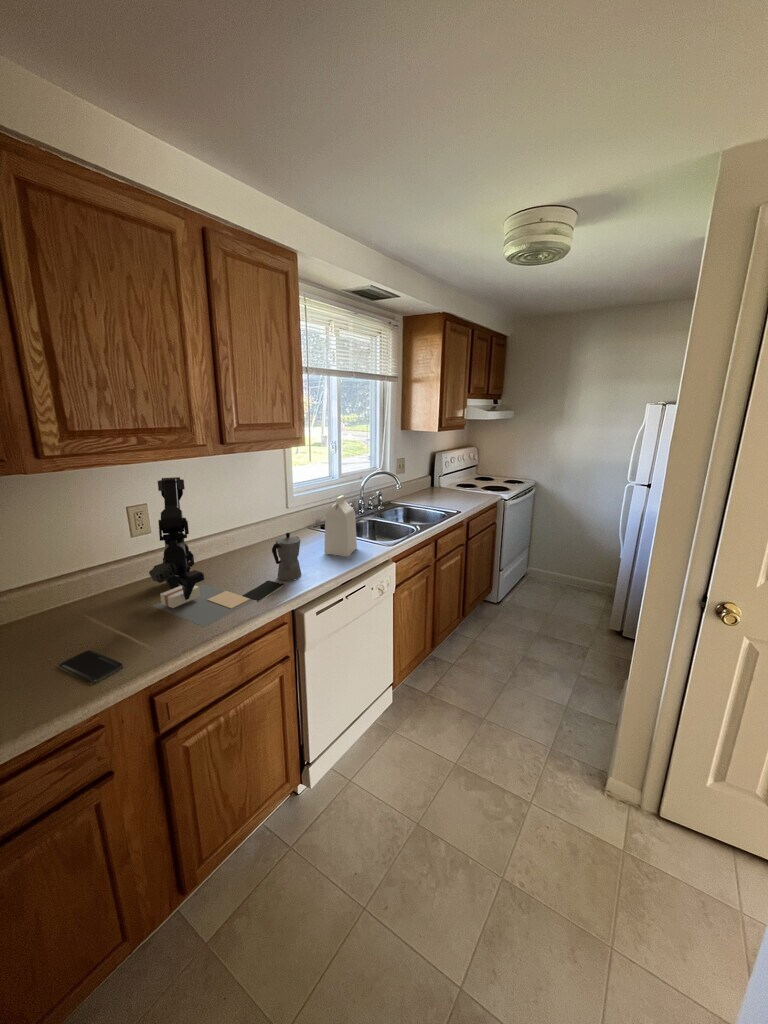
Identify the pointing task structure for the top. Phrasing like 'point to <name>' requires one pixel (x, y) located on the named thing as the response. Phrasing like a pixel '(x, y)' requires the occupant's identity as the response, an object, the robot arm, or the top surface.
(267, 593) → the smartphone
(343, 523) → the milk
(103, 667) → the phone
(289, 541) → the coffeepot
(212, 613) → the mat
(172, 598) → the card box
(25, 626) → the top surface
